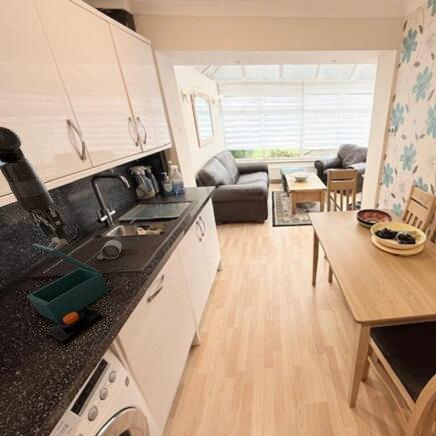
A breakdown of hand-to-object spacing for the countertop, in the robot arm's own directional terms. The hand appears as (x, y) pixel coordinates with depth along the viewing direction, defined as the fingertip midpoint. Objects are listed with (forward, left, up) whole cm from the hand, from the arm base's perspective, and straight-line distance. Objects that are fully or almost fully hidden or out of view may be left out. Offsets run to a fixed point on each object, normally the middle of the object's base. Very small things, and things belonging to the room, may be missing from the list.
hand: (56, 236), depth 83 cm
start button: (-11, -13, -23) cm, 29 cm away
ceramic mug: (+22, +20, -27) cm, 39 cm away
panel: (-12, -13, -26) cm, 32 cm away
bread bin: (-4, 0, -26) cm, 27 cm away
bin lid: (-1, 0, -10) cm, 10 cm away
